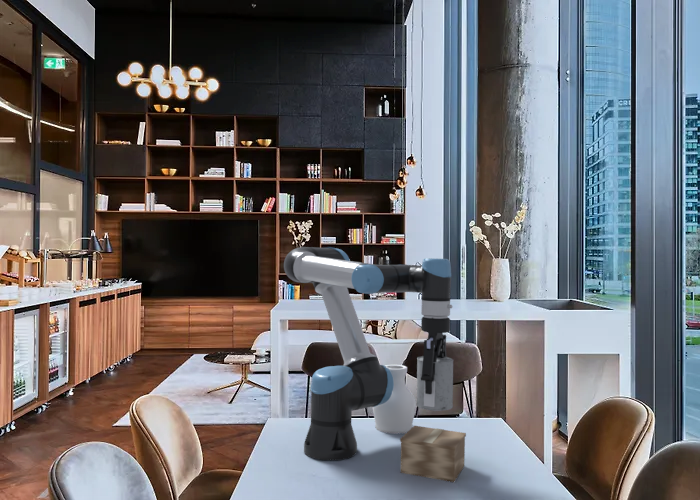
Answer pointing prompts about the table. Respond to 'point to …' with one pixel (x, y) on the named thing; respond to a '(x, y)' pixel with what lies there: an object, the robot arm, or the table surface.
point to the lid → (433, 437)
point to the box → (432, 461)
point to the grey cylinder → (437, 384)
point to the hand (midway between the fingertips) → (434, 401)
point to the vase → (396, 405)
